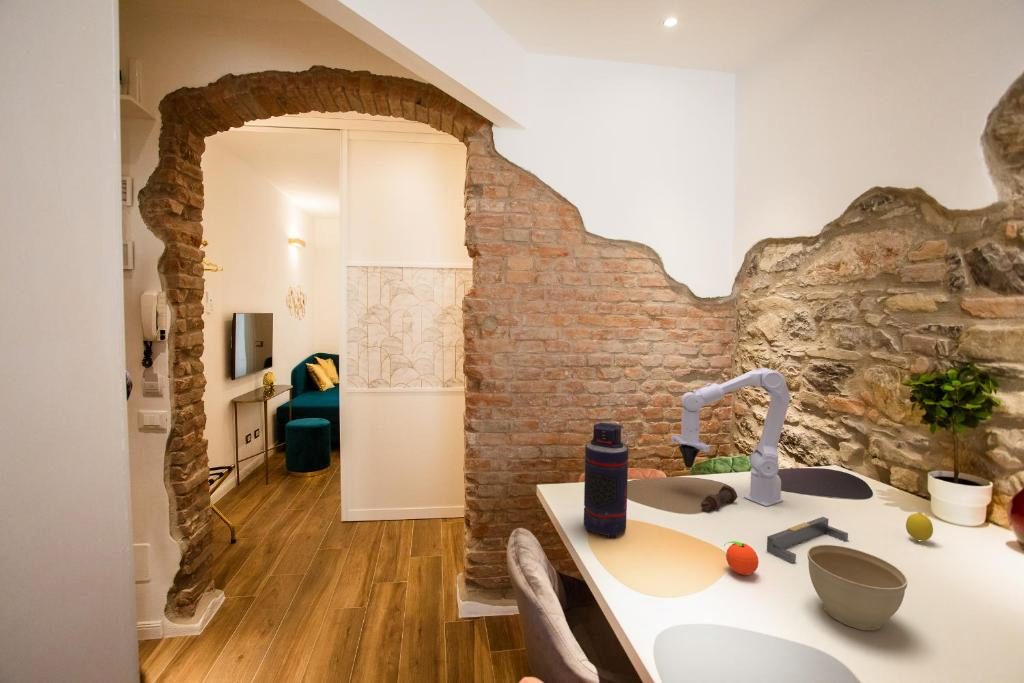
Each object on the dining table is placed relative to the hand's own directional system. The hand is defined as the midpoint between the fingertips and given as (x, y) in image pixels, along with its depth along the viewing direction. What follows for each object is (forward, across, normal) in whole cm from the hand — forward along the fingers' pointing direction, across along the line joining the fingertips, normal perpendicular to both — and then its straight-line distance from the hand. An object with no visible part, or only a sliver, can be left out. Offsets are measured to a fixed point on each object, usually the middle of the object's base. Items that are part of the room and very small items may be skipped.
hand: (688, 466), depth 155 cm
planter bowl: (+10, +60, -22) cm, 65 cm away
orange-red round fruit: (+10, +39, -28) cm, 49 cm away
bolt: (+10, +11, 0) cm, 15 cm away
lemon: (+10, +52, +30) cm, 61 cm away
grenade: (+10, +7, -42) cm, 44 cm away
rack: (+9, +40, 0) cm, 41 cm away
